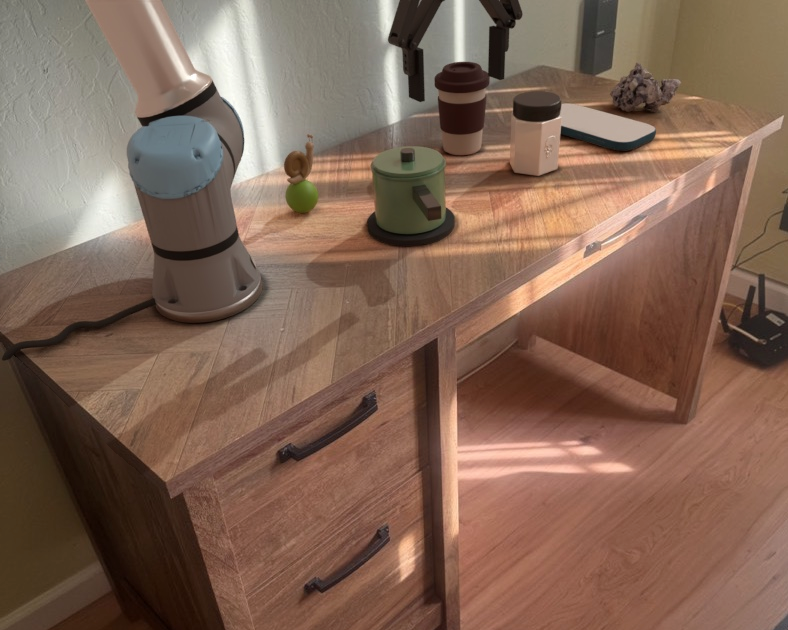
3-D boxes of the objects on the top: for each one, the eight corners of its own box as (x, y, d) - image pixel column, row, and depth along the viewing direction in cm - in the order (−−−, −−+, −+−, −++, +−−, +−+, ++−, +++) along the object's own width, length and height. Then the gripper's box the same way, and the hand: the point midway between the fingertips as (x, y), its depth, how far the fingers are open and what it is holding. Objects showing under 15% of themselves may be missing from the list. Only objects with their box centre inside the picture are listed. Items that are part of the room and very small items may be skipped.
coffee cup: (497, 143, 147) (499, 61, 137) (473, 162, 140) (473, 77, 131) (451, 136, 151) (451, 56, 142) (426, 154, 145) (424, 71, 135)
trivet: (379, 252, 116) (379, 247, 115) (358, 214, 126) (358, 208, 126) (466, 236, 118) (466, 231, 118) (439, 200, 129) (439, 195, 128)
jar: (529, 180, 133) (533, 110, 125) (499, 166, 138) (501, 98, 131) (567, 166, 136) (573, 98, 129) (536, 153, 142) (540, 87, 134)
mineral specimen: (687, 92, 152) (664, 47, 148) (655, 119, 150) (631, 74, 147) (647, 106, 163) (625, 65, 160) (617, 131, 161) (594, 90, 158)
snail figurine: (331, 207, 129) (322, 137, 122) (302, 221, 126) (292, 150, 118) (309, 199, 132) (300, 130, 125) (281, 212, 129) (269, 142, 121)
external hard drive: (661, 138, 144) (663, 127, 143) (624, 156, 139) (625, 145, 137) (563, 110, 159) (564, 100, 157) (526, 125, 153) (526, 115, 152)
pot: (398, 263, 110) (393, 191, 104) (367, 209, 125) (361, 143, 118) (473, 249, 112) (473, 177, 105) (434, 197, 127) (432, 131, 120)
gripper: (386, -77, 84) (396, 116, 98) (556, -104, 94) (544, 74, 108) (352, -83, 89) (366, 101, 103) (517, -108, 99) (510, 63, 113)
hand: (457, 88), depth 105 cm, fingers open, 13 cm apart
